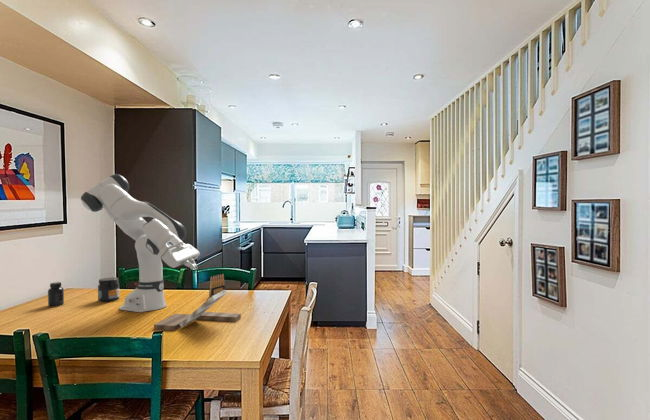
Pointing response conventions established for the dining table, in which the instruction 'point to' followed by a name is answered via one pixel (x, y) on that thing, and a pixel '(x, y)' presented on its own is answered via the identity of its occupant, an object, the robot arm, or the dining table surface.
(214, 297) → the ash plank
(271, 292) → the dining table surface
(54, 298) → the supplement bottle
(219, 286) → the ammunition clip
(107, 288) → the supplement container
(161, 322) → the walnut boards
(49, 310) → the dining table surface
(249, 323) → the dining table surface
